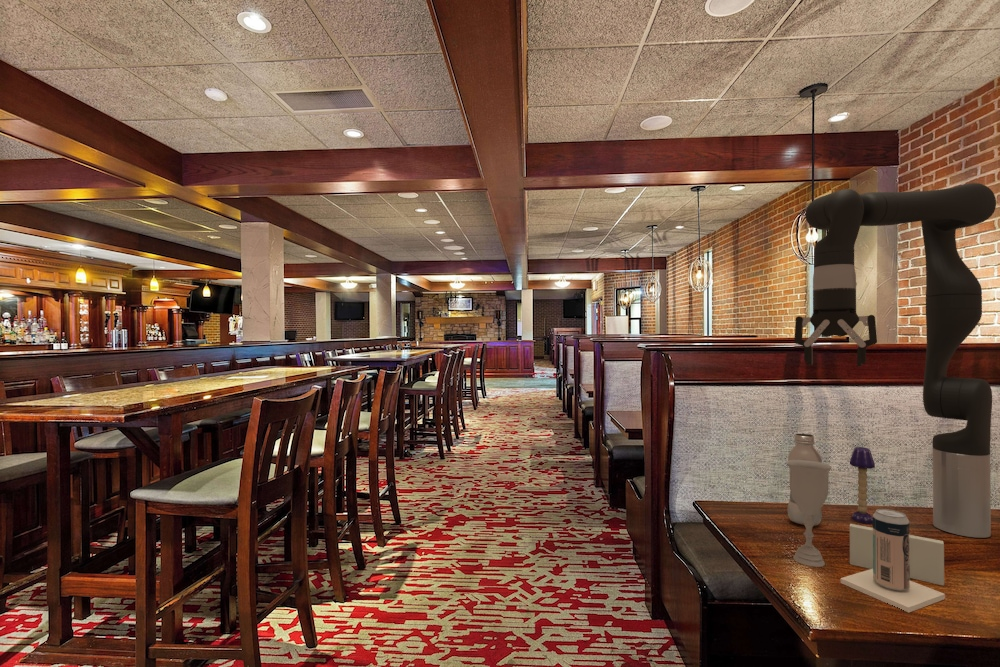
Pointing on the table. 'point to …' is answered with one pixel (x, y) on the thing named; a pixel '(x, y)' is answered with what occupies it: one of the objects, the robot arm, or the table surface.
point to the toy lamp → (862, 482)
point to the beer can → (891, 550)
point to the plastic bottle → (808, 453)
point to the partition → (921, 554)
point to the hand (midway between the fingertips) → (834, 365)
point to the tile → (894, 592)
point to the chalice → (809, 502)
